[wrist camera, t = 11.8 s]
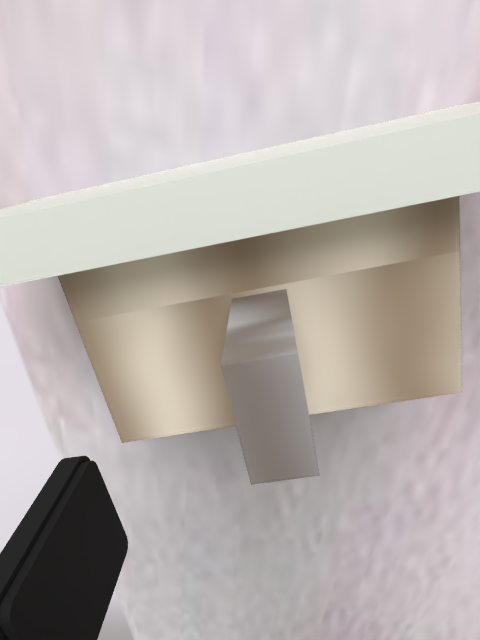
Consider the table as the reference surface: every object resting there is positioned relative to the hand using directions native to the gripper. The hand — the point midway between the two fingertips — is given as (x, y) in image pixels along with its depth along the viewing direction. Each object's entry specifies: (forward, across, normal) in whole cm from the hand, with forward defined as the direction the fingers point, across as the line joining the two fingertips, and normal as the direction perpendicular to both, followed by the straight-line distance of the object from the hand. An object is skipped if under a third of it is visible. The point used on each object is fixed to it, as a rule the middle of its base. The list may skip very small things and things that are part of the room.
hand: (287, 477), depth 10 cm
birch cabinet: (+17, +1, -1) cm, 17 cm away
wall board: (+16, +1, -6) cm, 18 cm away
